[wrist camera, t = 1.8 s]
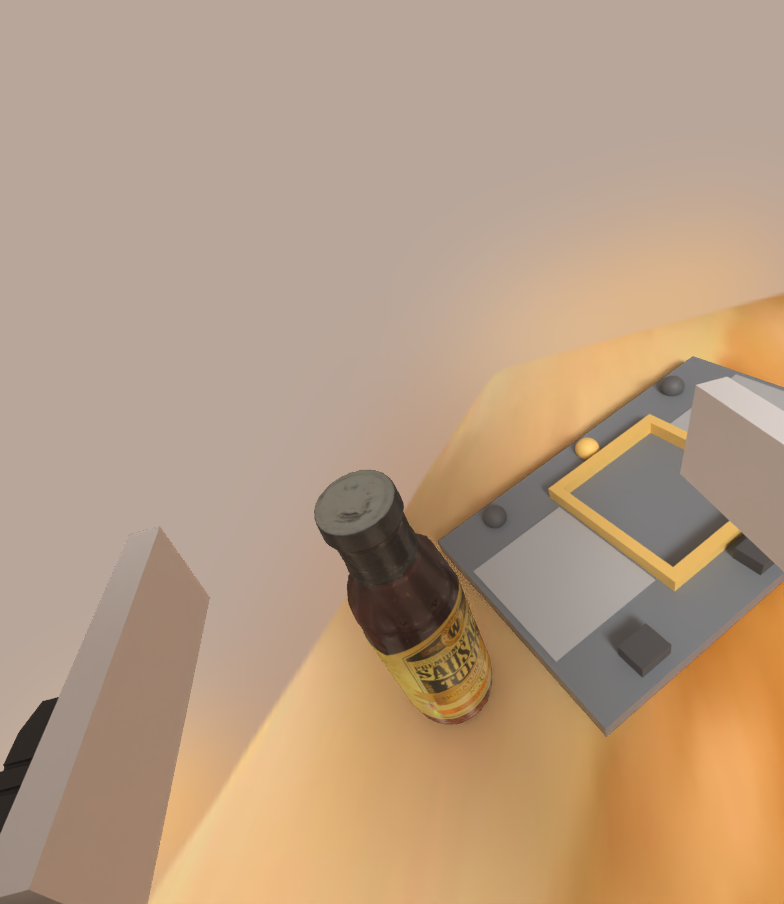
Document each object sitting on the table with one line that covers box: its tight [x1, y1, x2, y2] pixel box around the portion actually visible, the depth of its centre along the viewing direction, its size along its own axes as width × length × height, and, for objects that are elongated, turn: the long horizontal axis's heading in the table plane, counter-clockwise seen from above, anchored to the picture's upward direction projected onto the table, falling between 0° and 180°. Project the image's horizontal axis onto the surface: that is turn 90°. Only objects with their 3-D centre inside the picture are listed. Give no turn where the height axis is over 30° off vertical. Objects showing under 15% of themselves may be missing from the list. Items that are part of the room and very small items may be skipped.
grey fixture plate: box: [438, 356, 784, 737], centre depth 38 cm, size 31×18×3 cm, turn 121°
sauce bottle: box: [314, 470, 492, 724], centre depth 28 cm, size 7×6×20 cm
